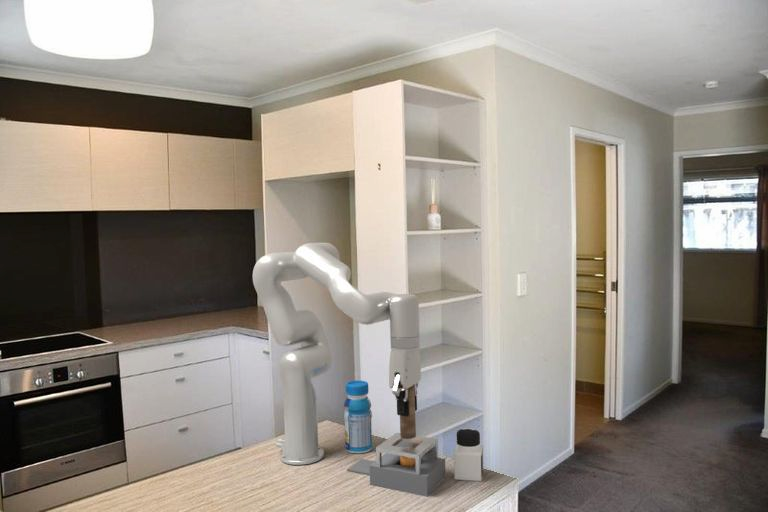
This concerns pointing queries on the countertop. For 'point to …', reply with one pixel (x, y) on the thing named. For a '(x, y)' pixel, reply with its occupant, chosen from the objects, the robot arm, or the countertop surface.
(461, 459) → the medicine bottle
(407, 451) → the frame
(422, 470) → the box
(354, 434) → the beverage bottle
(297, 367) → the robot arm
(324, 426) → the countertop surface
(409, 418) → the brown rod
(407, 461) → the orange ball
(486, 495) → the countertop surface
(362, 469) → the pad
